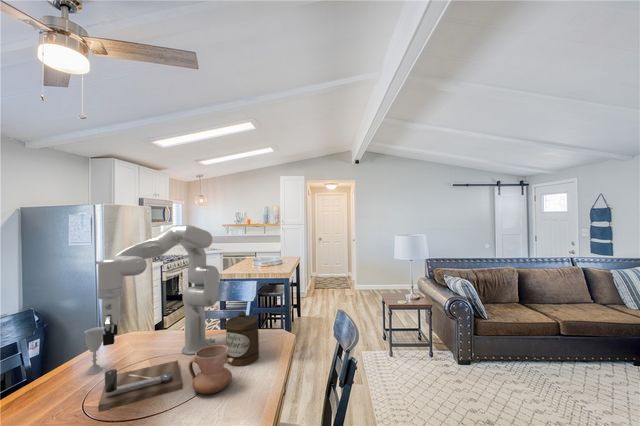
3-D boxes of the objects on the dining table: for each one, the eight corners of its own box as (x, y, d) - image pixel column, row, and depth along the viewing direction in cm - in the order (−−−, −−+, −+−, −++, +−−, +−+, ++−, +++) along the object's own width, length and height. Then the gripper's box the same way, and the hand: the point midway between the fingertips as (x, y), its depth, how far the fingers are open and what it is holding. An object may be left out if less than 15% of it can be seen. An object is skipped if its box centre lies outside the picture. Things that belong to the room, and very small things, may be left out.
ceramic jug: (240, 378, 120) (239, 343, 120) (225, 399, 105) (224, 359, 106) (199, 377, 122) (199, 342, 123) (178, 397, 108) (178, 358, 108)
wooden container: (219, 363, 133) (218, 314, 133) (239, 349, 147) (239, 305, 147) (246, 369, 127) (245, 318, 128) (265, 354, 141) (264, 308, 142)
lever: (172, 375, 118) (172, 355, 118) (173, 380, 114) (173, 360, 114) (105, 392, 107) (105, 370, 107) (103, 398, 103) (103, 375, 104)
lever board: (177, 364, 132) (177, 359, 132) (181, 388, 113) (181, 382, 113) (107, 381, 119) (107, 376, 119) (98, 411, 100) (98, 404, 100)
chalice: (92, 376, 123) (92, 333, 124) (79, 375, 125) (79, 332, 125) (108, 368, 131) (108, 327, 131) (96, 366, 132) (96, 326, 132)
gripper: (120, 296, 101) (120, 346, 101) (125, 287, 116) (124, 330, 116) (93, 299, 98) (93, 351, 97) (101, 289, 113) (101, 334, 112)
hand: (110, 339), depth 107 cm, fingers open, 9 cm apart
